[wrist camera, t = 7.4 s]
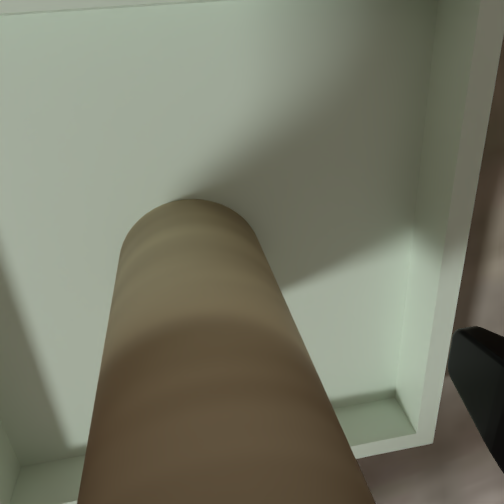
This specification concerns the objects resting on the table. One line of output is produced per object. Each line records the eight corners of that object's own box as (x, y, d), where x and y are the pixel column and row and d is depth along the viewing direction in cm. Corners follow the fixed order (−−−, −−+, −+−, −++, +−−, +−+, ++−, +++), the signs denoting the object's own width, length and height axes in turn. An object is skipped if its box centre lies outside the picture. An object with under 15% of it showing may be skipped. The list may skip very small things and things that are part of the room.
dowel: (264, 313, 13) (497, 963, 4) (133, 333, 12) (65, 1123, 4) (257, 190, 11) (630, 839, 2) (105, 208, 11) (-159, 1104, 2)
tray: (401, 394, 16) (432, 443, 14) (11, 467, 14) (-11, 532, 13) (454, -46, 10) (519, -59, 8) (-205, -8, 8) (-306, -15, 7)
